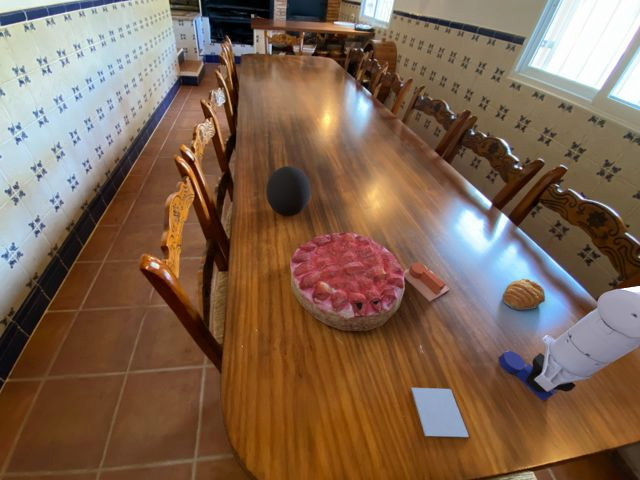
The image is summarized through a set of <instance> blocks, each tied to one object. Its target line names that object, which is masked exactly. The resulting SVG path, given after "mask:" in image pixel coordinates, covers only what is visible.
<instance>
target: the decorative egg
mask: <svg viewBox="0 0 640 480" xmlns="http://www.w3.org/2000/svg"><path fill="white" fill-rule="evenodd" d="M311 190H312V189H311V183H310V180H309V178H308V176H307V175H306V173H305V172H304V171H303V170H301V169H300V168H299V167H296V166H295V165H294V166H292V165H285V166H282V167H279V168H277V169H276V170H275V171H274V172H273V173H272V174H271V175H270V176H269V180H268V181H267V185H266V192H265V193H266V199H267V202H268V204H269V206H270V208H271V209H272V210H273V211H274V212H275V213H276V214H278V215H280V216H283V217H293V216H297V215H299V214H300V213H302V212H303V211H304V210H305V208H306V207H307V206H308V204H309V202H310V199H311V194H312V193H311V192H312V191H311Z"/></svg>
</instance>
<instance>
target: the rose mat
mask: <svg viewBox="0 0 640 480" xmlns="http://www.w3.org/2000/svg"><path fill="white" fill-rule="evenodd" d="M409 269H410V267H409V268H407V269H405V270H404V280H406V281H407V283H408V284H410V285H411V286H412V287H413V288H414V289H415V290H416V291H417V292H418V293H419V294H420V295H421V296H422V297H423V298H424V299H425V300H427V301H428V303H431V302H433V301H434V300H436V299H437V298H439V297H441V296H442V295H444V294H446V293H447V292H449V291H450V288H449V287H448V286H446V285H445V286H444V288H443V289H442V291H441V292H440V293H438V294H437V295H435V294H434V293H433V292H432V291H431V290H430V289H429V288H428V287H427V286H426V285H425V284H424V283H422V282H421V281H420V280H419V279H416V278H414V277H412V276H411V275H410V274H409Z"/></svg>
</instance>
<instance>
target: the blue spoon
mask: <svg viewBox="0 0 640 480" xmlns="http://www.w3.org/2000/svg"><path fill="white" fill-rule="evenodd" d="M498 363H499V366H500V367H501V368H502V370H504V371H505V372H506V373H508V374H510V375H514V376H515V377H516V378H517V379H518V380H519V381H520V382H521V383H523V384H524V385H525V387H527V388H528V389H529V390H530V391H531V392H532V393H533V394H535V396H536V397H538V398H539V400H541V402H544V401H545V400H547V399H549V398H551V397H552V396H554V395H555V394H556V393H557V392H558V391H559V390H550V391H548V392H547V391H541V392H536V391H535V390H534V389H533V388H532V387H531V386H530V385H529V384H527V383H526V379H527V377H528V375H529V374H530V372H531V371H532V368H533V365H532V364H531V363H527V364H526V362H525V360H524V358H523V357H522V356H521V355H520V354H519V353H517V352H515V351H513V350H505V351H504V352H503V353H502V354H501V355H500V356H499V357H498Z"/></svg>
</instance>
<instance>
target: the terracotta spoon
mask: <svg viewBox="0 0 640 480" xmlns="http://www.w3.org/2000/svg"><path fill="white" fill-rule="evenodd" d="M409 268H410V269H409ZM409 268H408V269H409V274H410V275H411V276H412V277H414V278H416V279H419V280H420V281H421V282H422V283H424V284H425V285H426V286H427V287H428V288H429V289H430V290H431V291H432V292H433V293H434V294H435V295H437V294H438V293H440V292H441V291H442V289H443V288H444V286H446V285H447V283H446V282H444V280H443V279H441V278H440V277H439V276H438V275H436V273H434V272H433V271H432V270H431V269H429V268H427V267H426V265H424V264H423V263H420V262H417V261H415V262H412V263H411V265H410V267H409Z"/></svg>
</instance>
